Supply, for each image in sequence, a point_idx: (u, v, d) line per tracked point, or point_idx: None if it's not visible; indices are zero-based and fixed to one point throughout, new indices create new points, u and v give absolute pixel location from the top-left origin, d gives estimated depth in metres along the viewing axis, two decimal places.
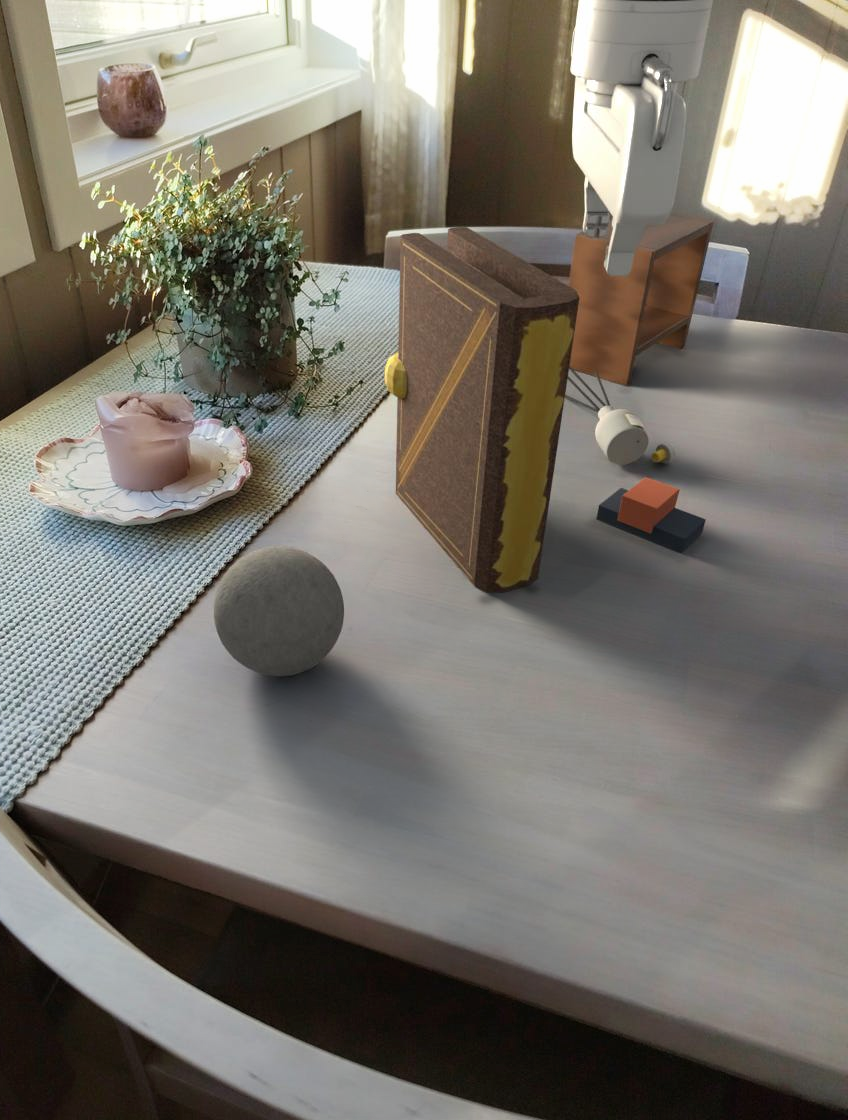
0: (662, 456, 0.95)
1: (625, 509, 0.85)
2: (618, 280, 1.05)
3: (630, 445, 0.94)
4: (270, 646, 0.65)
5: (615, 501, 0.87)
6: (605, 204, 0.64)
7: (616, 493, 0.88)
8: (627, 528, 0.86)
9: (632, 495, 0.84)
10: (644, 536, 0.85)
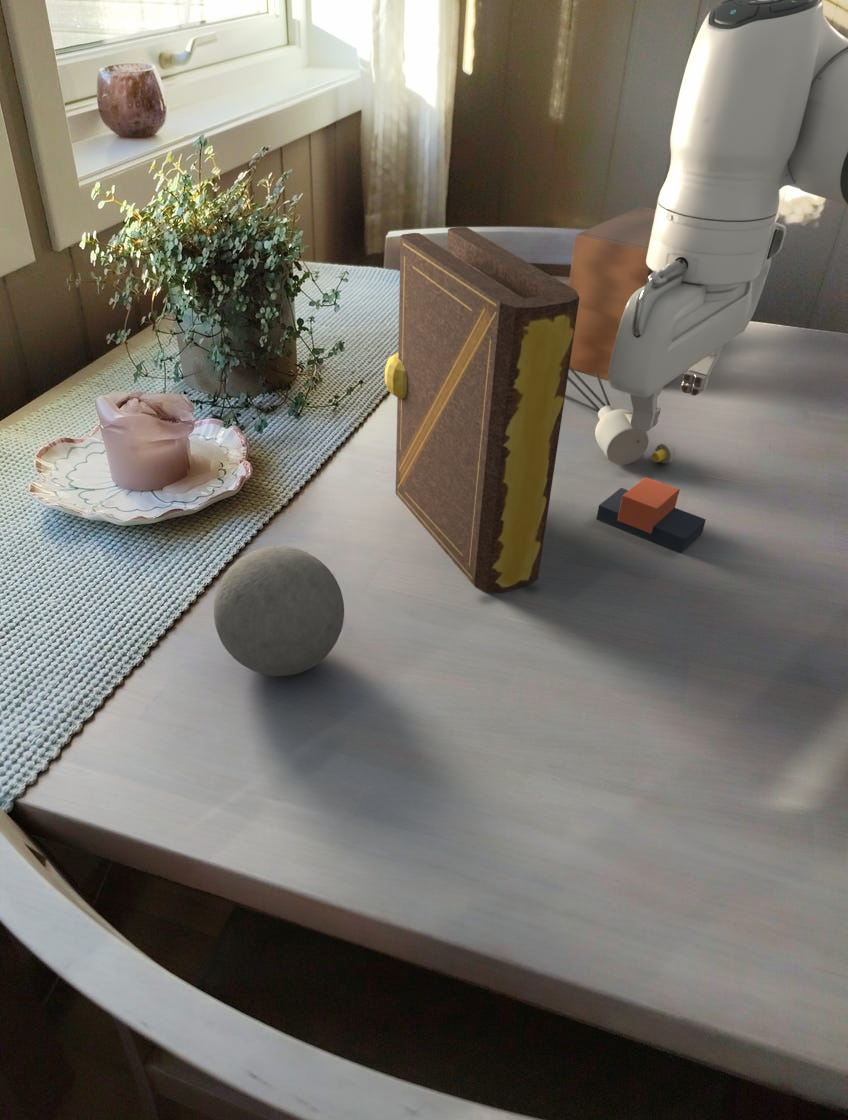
0: (662, 456, 0.95)
1: (625, 509, 0.85)
2: (618, 280, 1.05)
3: (630, 445, 0.94)
4: (270, 646, 0.65)
5: (615, 501, 0.87)
6: None
7: (616, 493, 0.88)
8: (627, 528, 0.86)
9: (632, 495, 0.84)
10: (644, 536, 0.85)
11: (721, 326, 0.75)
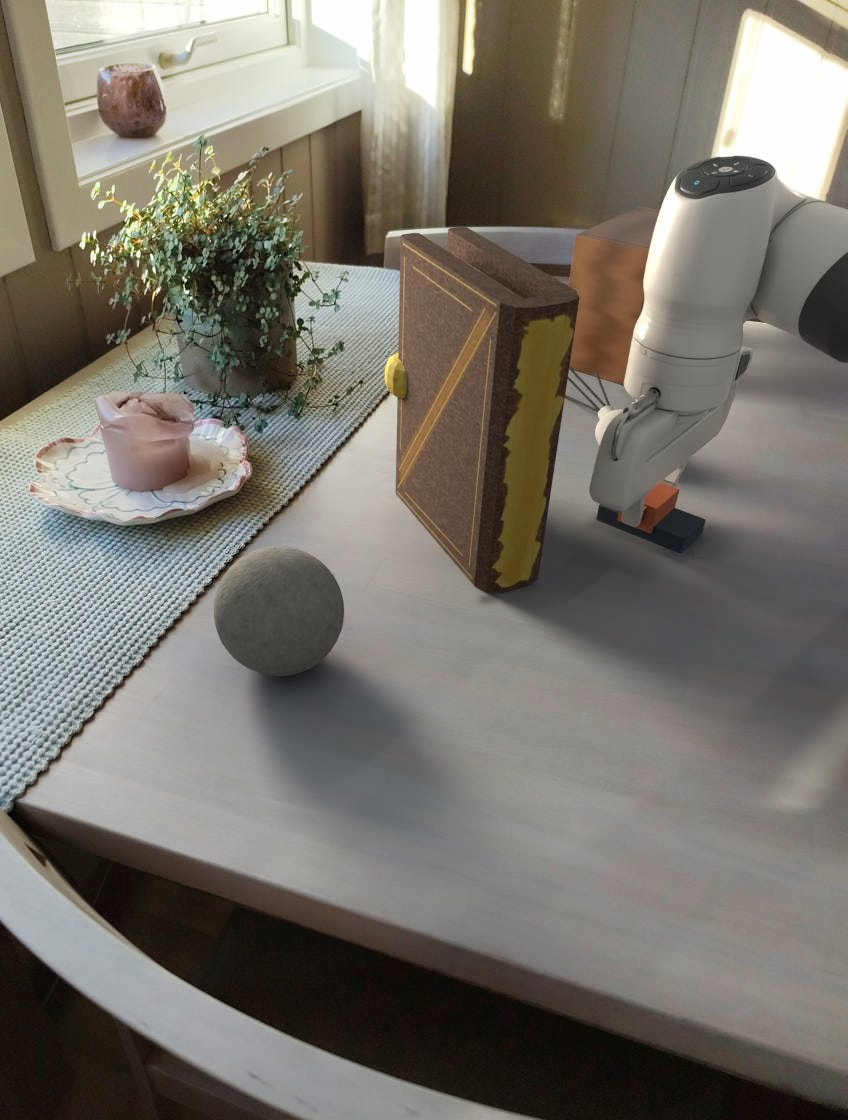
0: None
1: None
2: (618, 280, 1.05)
3: None
4: (270, 646, 0.65)
5: None
6: None
7: None
8: (627, 528, 0.86)
9: None
10: (644, 536, 0.85)
11: (694, 438, 0.82)
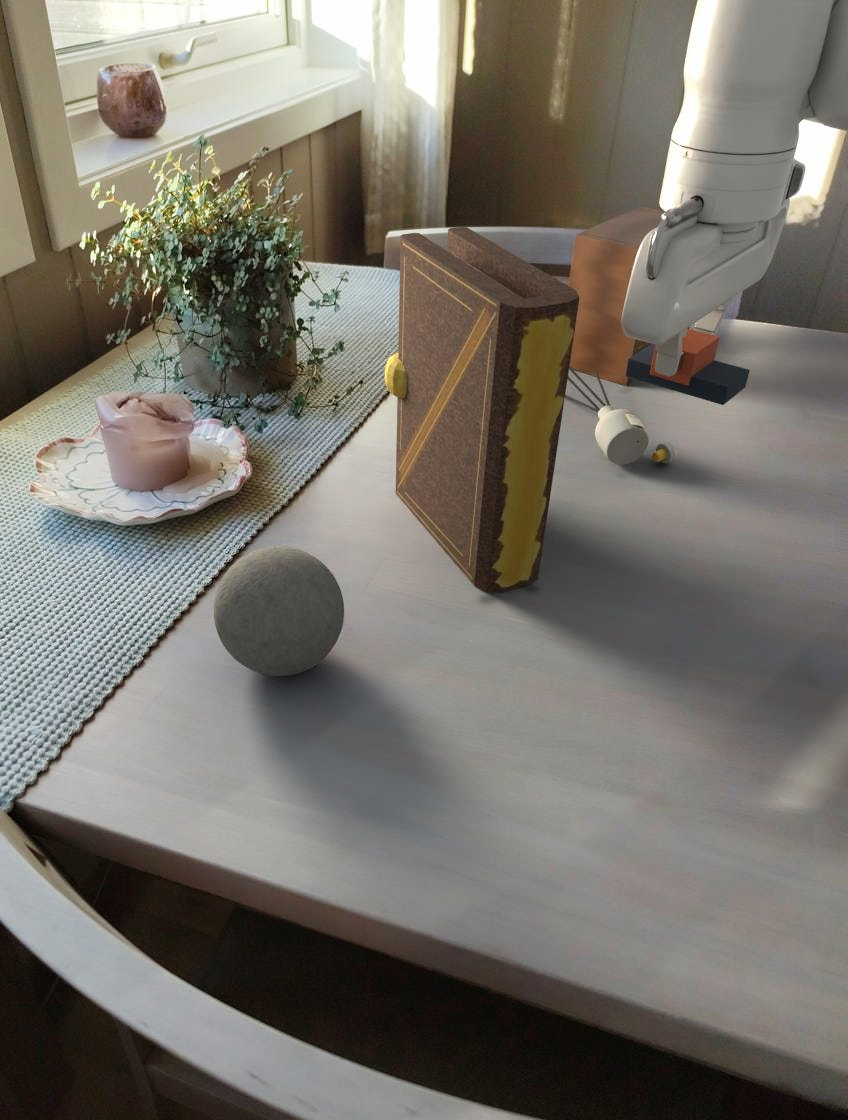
0: (662, 456, 0.95)
1: None
2: (618, 280, 1.05)
3: (630, 445, 0.94)
4: (270, 646, 0.65)
5: (647, 355, 0.78)
6: None
7: (647, 348, 0.79)
8: (661, 383, 0.76)
9: None
10: (680, 390, 0.76)
11: (738, 272, 0.73)
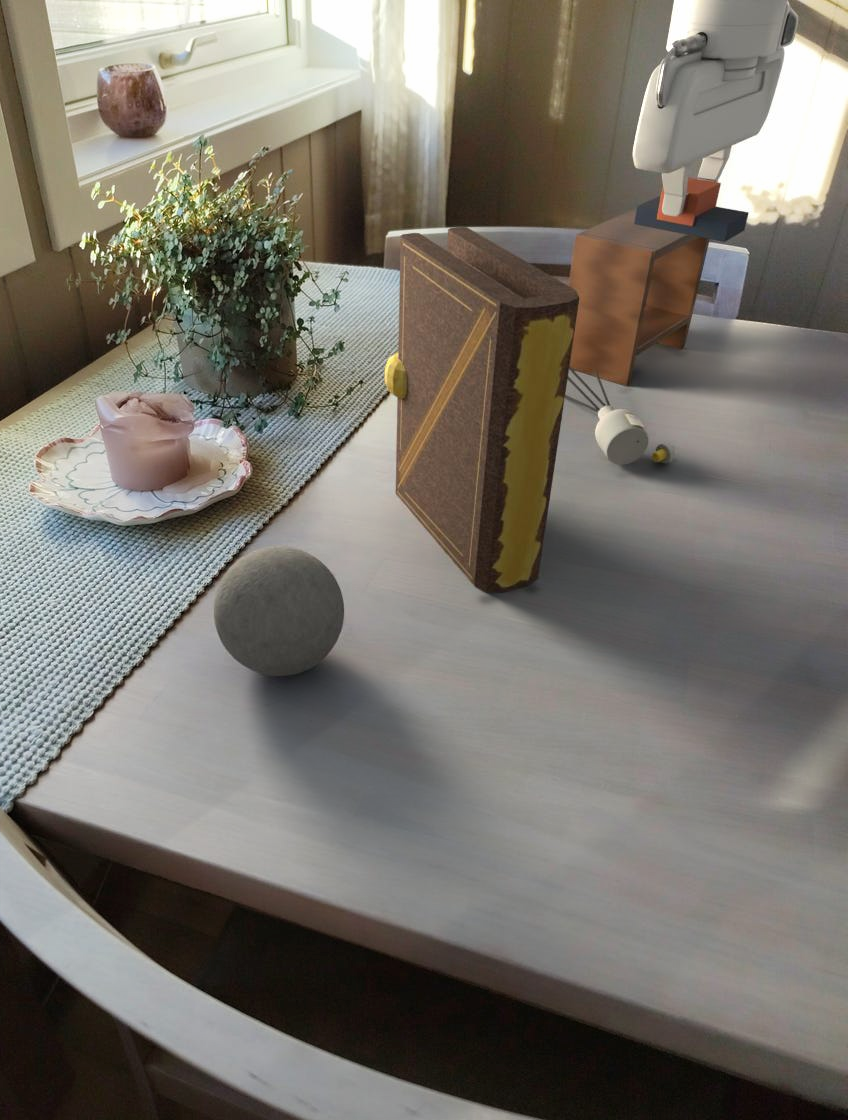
0: (662, 456, 0.95)
1: None
2: (618, 280, 1.05)
3: (630, 445, 0.94)
4: (270, 646, 0.65)
5: (653, 203, 0.84)
6: None
7: (654, 199, 0.86)
8: (667, 226, 0.83)
9: None
10: (685, 231, 0.82)
11: (738, 118, 0.79)
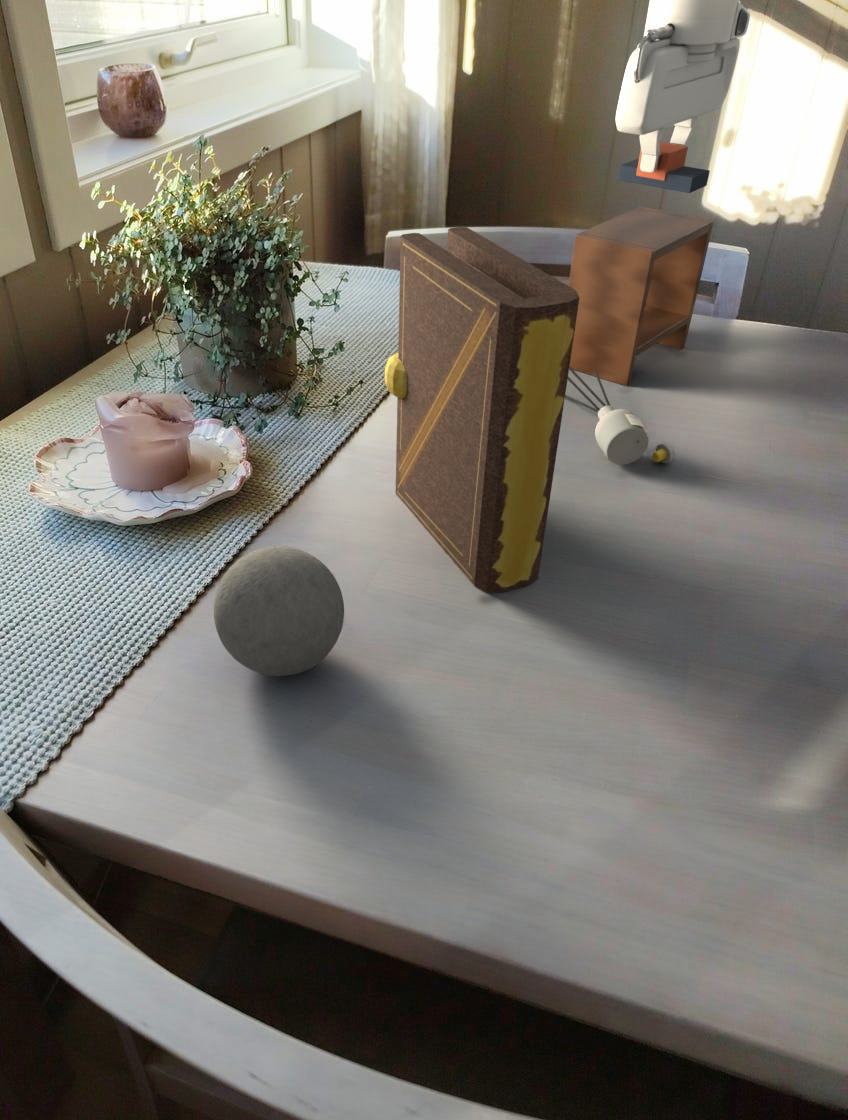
0: (662, 456, 0.95)
1: None
2: (618, 280, 1.05)
3: (630, 445, 0.94)
4: (270, 646, 0.65)
5: (634, 163, 1.04)
6: None
7: (634, 160, 1.05)
8: (644, 181, 1.03)
9: None
10: (658, 185, 1.02)
11: (701, 93, 0.99)
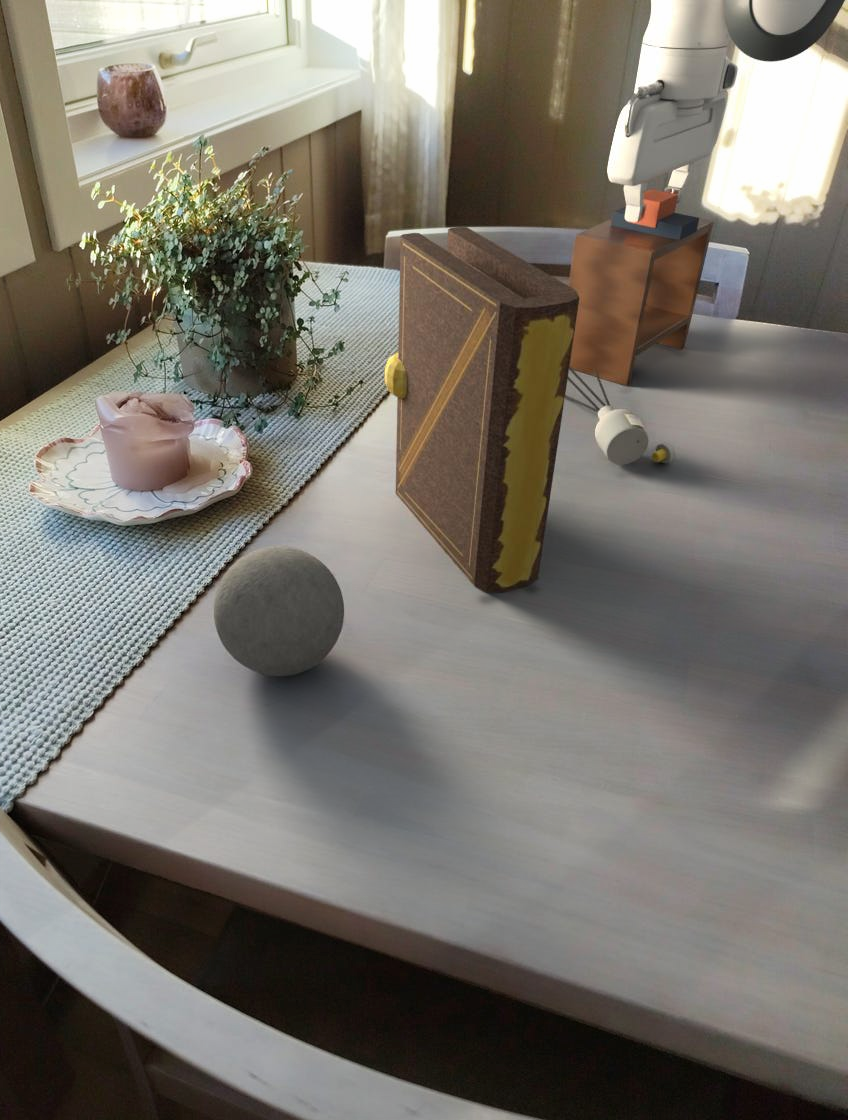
0: (662, 456, 0.95)
1: None
2: (618, 280, 1.05)
3: (630, 445, 0.94)
4: (270, 646, 0.65)
5: None
6: None
7: None
8: (636, 228, 1.06)
9: None
10: (649, 232, 1.05)
11: (691, 143, 1.02)
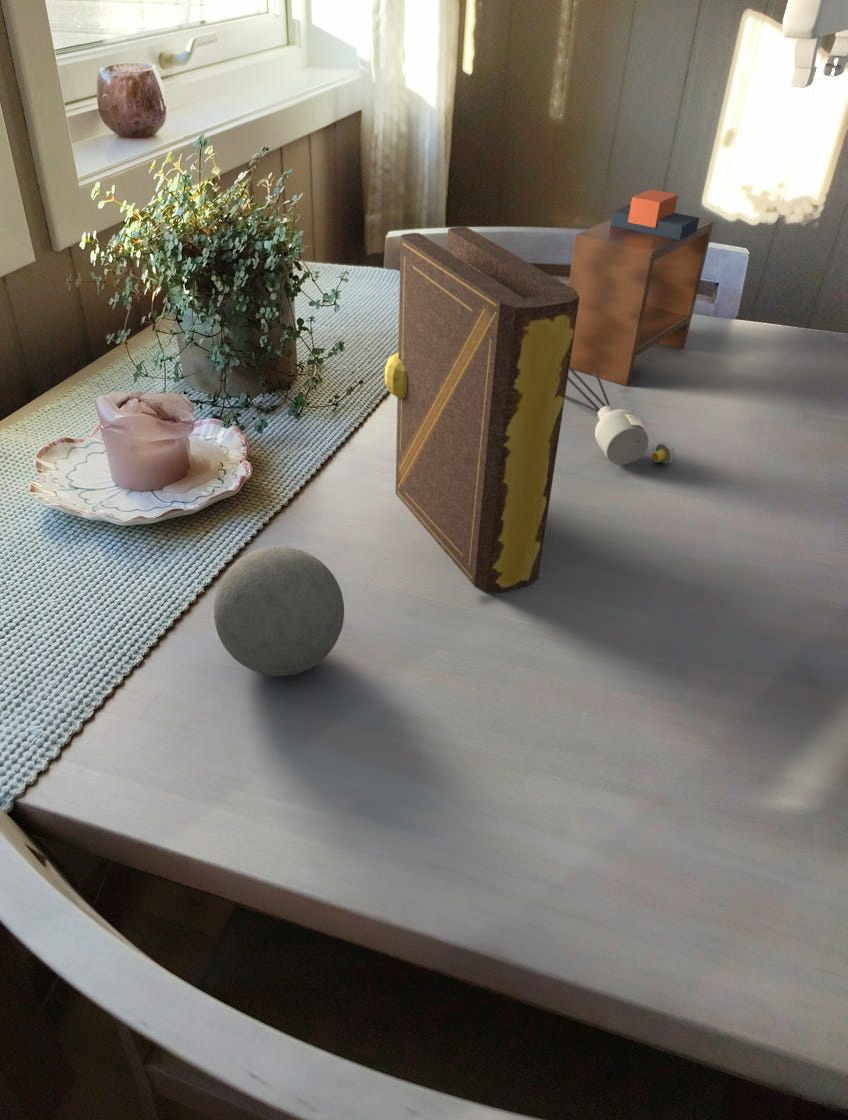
0: (662, 456, 0.95)
1: (634, 209, 1.05)
2: (618, 280, 1.05)
3: (630, 445, 0.94)
4: (270, 646, 0.65)
5: (626, 210, 1.08)
6: None
7: (627, 206, 1.09)
8: (636, 228, 1.06)
9: (640, 197, 1.05)
10: (649, 232, 1.05)
11: None
